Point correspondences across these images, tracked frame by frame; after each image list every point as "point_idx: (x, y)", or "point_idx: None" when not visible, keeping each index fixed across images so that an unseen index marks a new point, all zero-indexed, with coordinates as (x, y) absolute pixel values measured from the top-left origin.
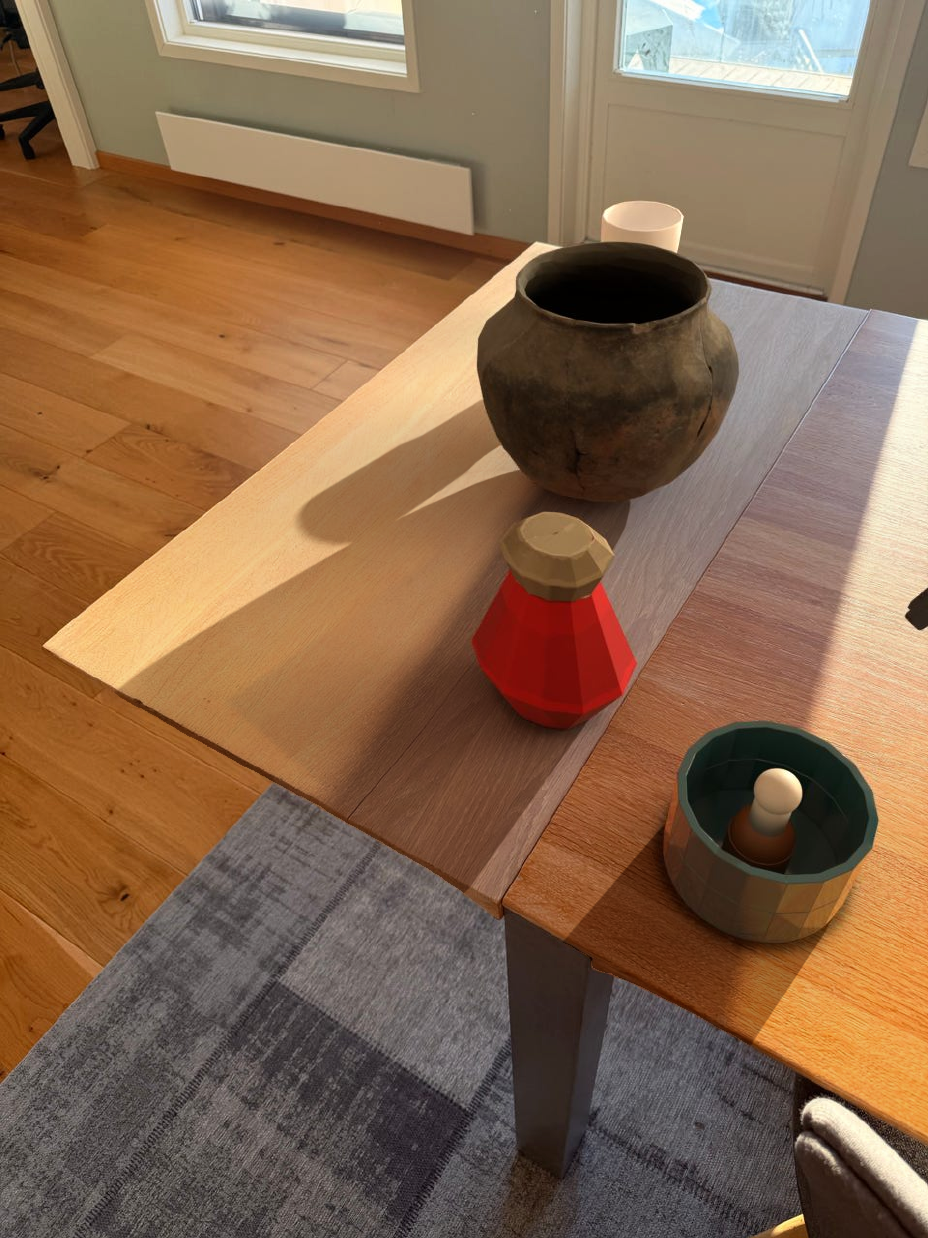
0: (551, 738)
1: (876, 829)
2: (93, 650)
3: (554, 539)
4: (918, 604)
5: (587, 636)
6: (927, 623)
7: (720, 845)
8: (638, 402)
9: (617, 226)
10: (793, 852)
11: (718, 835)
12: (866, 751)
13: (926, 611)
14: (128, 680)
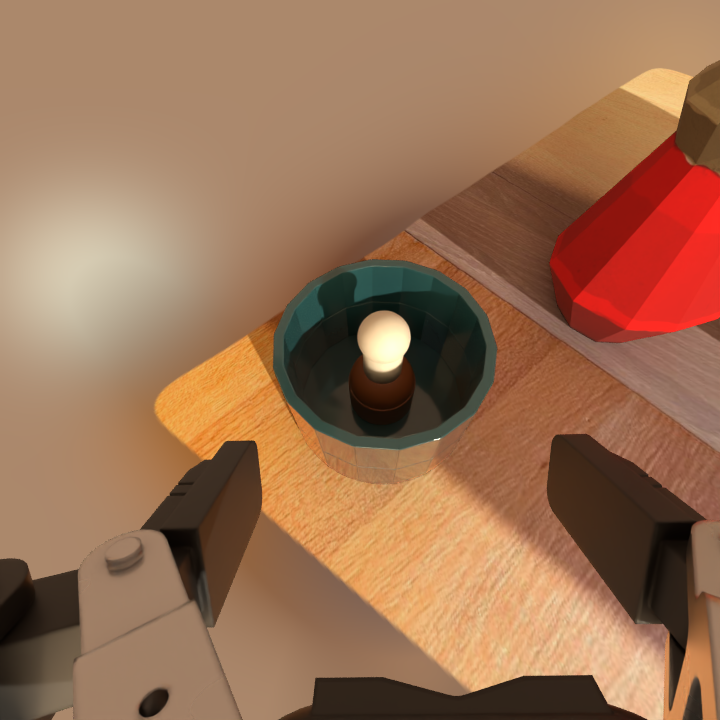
0: (548, 292)
1: (304, 418)
2: (654, 77)
3: None
4: (605, 452)
5: (632, 205)
6: (559, 506)
7: None
8: None
9: None
10: (355, 399)
11: None
12: (487, 609)
13: (577, 468)
14: (624, 90)
